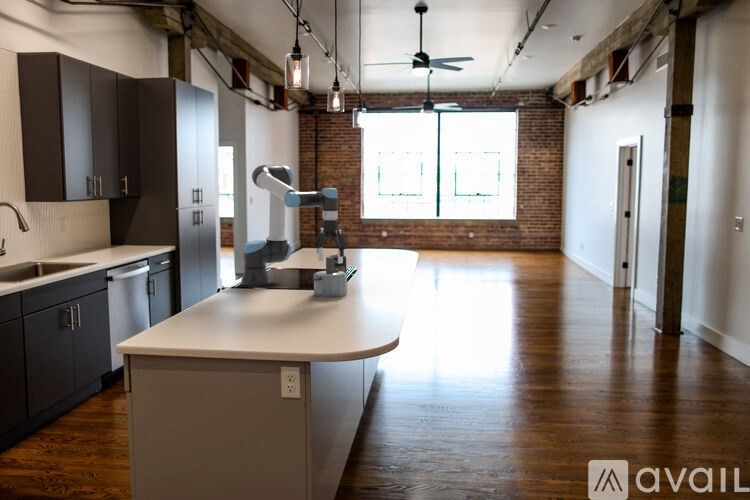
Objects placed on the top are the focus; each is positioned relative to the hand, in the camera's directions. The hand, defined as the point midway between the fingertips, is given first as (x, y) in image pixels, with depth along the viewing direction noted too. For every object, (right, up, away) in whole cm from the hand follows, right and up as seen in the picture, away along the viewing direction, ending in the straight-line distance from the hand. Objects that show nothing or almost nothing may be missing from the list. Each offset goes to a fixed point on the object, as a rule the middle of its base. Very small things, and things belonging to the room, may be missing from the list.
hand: (330, 262), depth 301 cm
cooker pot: (0, -16, +2) cm, 16 cm away
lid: (0, -8, +1) cm, 8 cm away
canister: (+2, -14, +21) cm, 25 cm away
